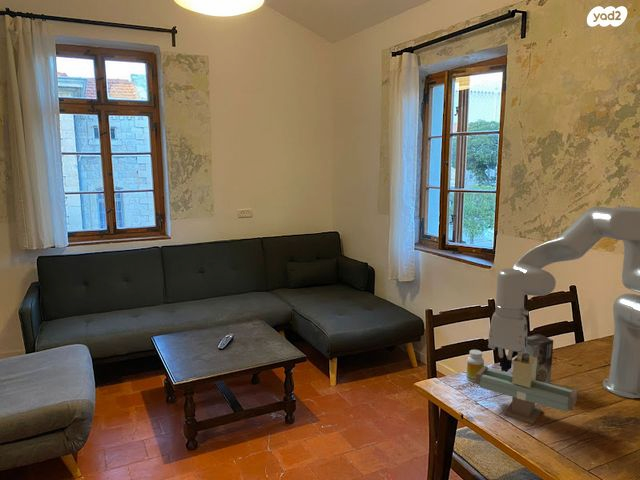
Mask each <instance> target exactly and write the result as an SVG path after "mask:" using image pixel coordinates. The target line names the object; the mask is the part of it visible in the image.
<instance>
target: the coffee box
mask: <svg viewBox="0 0 640 480" xmlns="http://www.w3.org/2000/svg"><path fill="white" fill-rule="evenodd" d="M525 349H526V353H529V354H530V356H532V357H536V358H537V366H536V379H535V380H536V381H540V382H543V383H547V384H551V378H552V377H551V376H552V365H553V353H554V351H553V349H554V339H551V338H549V337H547V336H545V335H542V334H539V333H536V334H533V335H527V346H526V347H525Z"/></svg>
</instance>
